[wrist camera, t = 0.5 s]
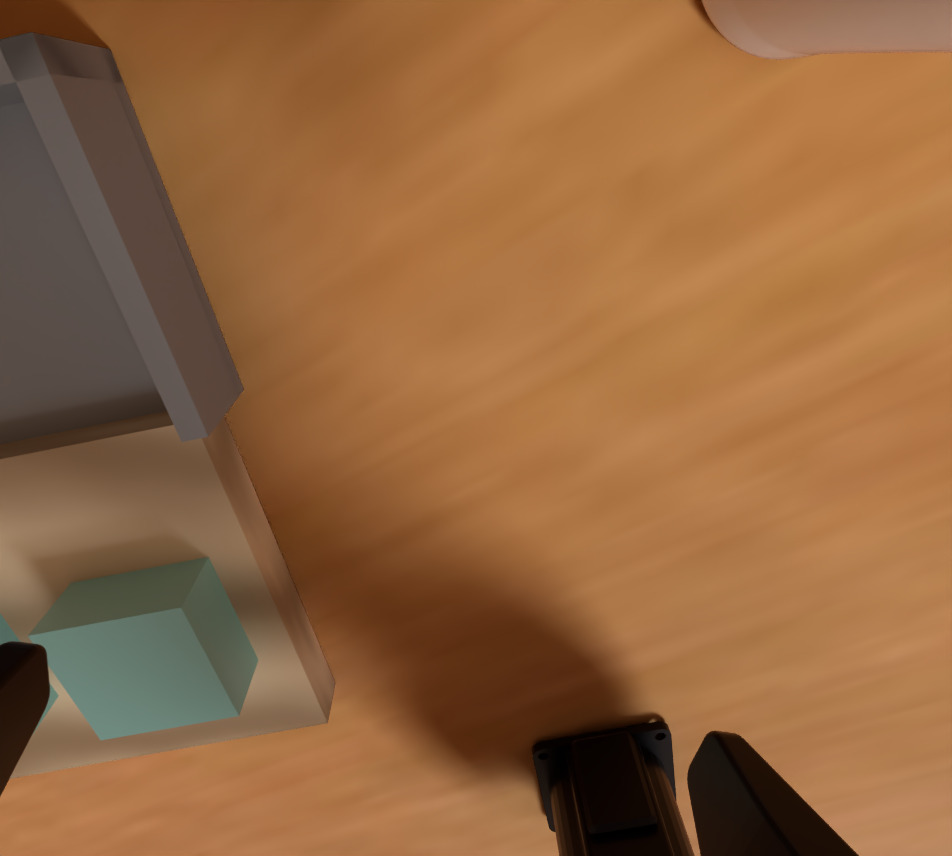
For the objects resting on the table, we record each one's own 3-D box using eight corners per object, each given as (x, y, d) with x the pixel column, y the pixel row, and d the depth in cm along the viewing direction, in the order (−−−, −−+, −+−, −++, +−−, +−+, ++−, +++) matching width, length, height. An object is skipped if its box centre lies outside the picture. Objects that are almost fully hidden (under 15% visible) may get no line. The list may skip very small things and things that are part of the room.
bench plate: (335, 683, 27) (327, 723, 25) (-11, 744, 28) (-42, 787, 26) (215, 395, 21) (193, 420, 19) (-227, 483, 22) (-287, 516, 20)
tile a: (258, 659, 24) (239, 716, 21) (133, 682, 24) (100, 740, 22) (208, 556, 21) (181, 607, 19) (70, 582, 22) (27, 635, 19)
